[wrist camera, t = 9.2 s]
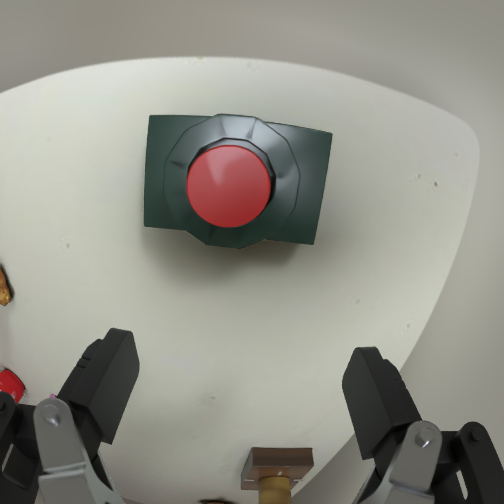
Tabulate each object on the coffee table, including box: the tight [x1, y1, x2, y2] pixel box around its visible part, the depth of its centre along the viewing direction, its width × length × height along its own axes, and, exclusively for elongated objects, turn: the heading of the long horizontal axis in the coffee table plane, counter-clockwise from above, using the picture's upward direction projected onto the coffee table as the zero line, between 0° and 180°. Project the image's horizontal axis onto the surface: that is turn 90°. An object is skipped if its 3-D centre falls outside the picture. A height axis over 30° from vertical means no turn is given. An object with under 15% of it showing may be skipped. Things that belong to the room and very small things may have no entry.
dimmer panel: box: [241, 448, 314, 490], centre depth 29 cm, size 12×9×3 cm
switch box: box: [144, 114, 333, 249], centre depth 14 cm, size 10×6×4 cm, turn 83°
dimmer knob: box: [258, 476, 291, 504], centre depth 26 cm, size 4×4×5 cm
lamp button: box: [186, 145, 271, 227], centre depth 12 cm, size 4×4×2 cm
